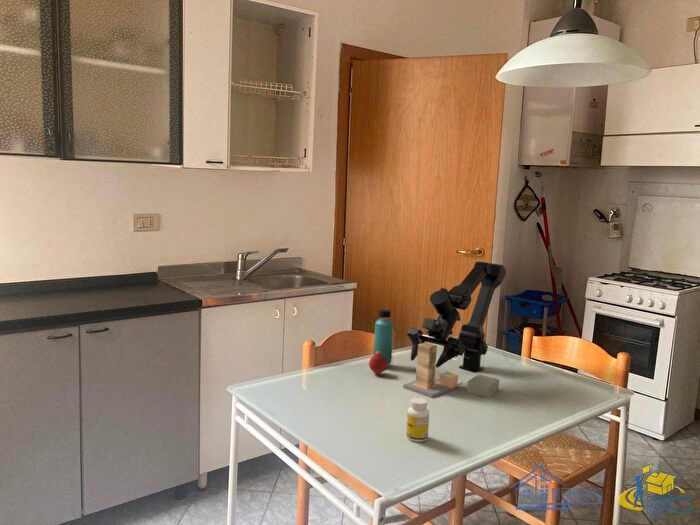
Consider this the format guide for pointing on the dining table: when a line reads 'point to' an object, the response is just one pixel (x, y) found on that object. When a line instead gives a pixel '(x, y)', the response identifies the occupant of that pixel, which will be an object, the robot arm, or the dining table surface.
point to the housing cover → (483, 385)
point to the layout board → (436, 385)
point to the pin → (426, 364)
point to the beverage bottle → (384, 336)
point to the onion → (378, 363)
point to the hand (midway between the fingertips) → (423, 363)
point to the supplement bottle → (418, 420)
